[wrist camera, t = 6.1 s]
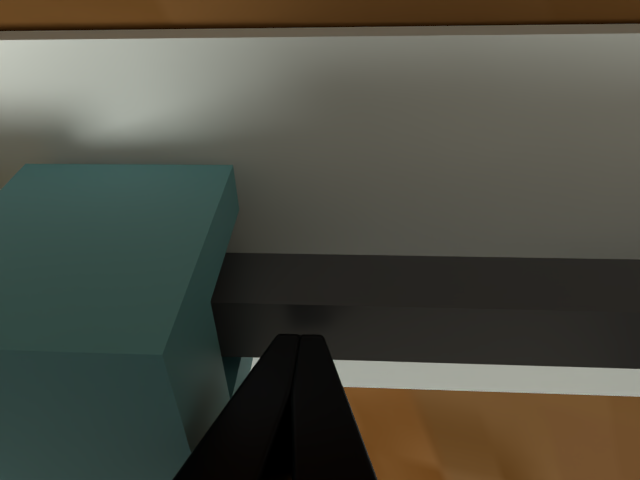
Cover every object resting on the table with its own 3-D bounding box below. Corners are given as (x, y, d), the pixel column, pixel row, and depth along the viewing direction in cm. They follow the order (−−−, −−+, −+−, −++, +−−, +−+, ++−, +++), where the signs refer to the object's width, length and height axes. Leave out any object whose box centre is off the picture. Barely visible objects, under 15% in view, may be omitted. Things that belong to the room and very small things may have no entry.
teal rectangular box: (232, 164, 11) (162, 355, 7) (257, 337, 13) (215, 538, 10) (25, 163, 11) (-148, 345, 7) (91, 332, 14) (-9, 525, 10)
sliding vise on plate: (1067, 18, 9) (1580, 176, 5) (796, 385, 14) (951, 593, 11) (-280, 34, 11) (-640, 162, 7) (-68, 358, 16) (-202, 530, 12)
